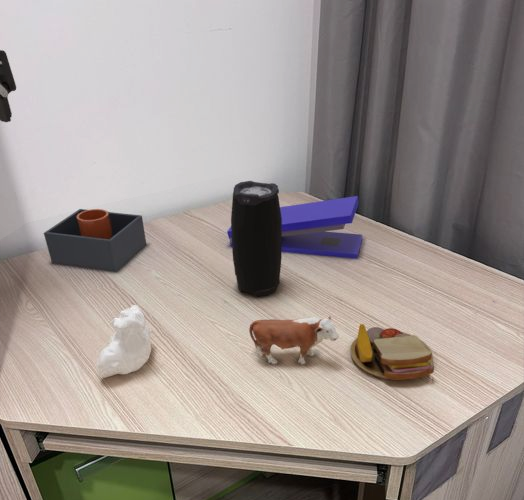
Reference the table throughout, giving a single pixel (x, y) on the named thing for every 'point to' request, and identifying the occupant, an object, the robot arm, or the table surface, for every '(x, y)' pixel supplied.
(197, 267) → the table surface
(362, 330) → the toy sandwich meal
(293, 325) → the bull figurine
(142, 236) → the tub
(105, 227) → the rice cup
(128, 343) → the bust
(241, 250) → the portable speaker
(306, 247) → the stapler
